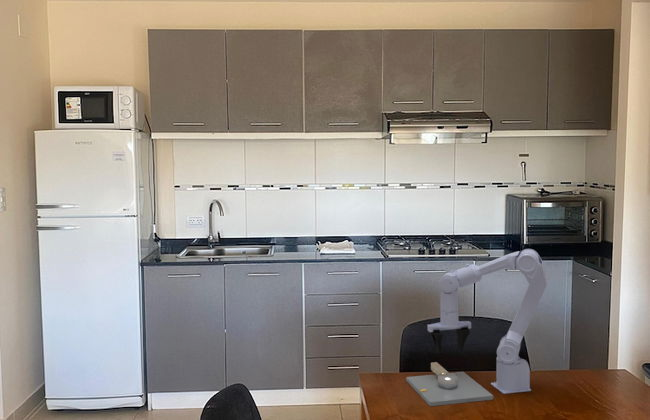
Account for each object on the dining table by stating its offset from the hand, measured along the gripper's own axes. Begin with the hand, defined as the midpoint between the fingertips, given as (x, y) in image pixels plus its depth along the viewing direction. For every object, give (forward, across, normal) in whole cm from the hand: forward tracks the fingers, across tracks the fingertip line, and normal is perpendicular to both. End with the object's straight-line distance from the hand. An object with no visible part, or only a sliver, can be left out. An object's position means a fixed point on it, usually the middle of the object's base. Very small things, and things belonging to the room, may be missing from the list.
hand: (449, 351), depth 178 cm
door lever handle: (+8, +4, +3) cm, 10 cm away
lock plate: (+9, +4, +7) cm, 13 cm away
